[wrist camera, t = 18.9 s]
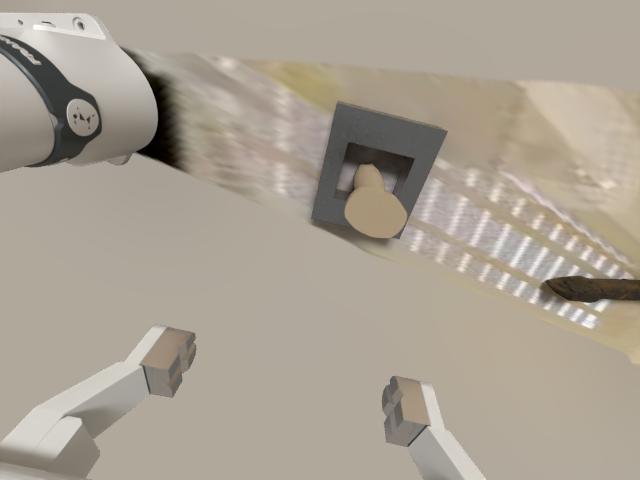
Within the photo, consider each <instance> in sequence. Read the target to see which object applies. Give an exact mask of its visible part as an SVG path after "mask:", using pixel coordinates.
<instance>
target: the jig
mask: <svg viewBox="0 0 640 480" xmlns="http://www.w3.org/2000/svg"><path fill="white" fill-rule="evenodd" d="M447 132H448V131H446V130H444V129H442V128H440V127H438V126H434V125H430V124H426V123H422V122H418V121H414V120H410V119H407V118H403V117H399V116H395V115H391V114H387V113H383V112H379V111H375V110H371V109H368V108H364V107H360V106H356V105H352V104H348V103H344V102H340V101H338V103H337V107H336V111H335V115H334V120H333V124H332V129H331V133H330V137H329V142H328V146H327V151H326V155H325V159H324V164H323V168H322V173H321V177H320V182H319V186H318V190H317V195H316V199H315V204H314V208H313V212H312V217H311V218H313V219H317V220H321V221H325V222H329V223H334V224H338V225H342V226H346V227H350V228H354V227H353V226H352V225H351V224H350V223H349V222H348V220H347V219H346V218H345V204H346V201H347V199H348V197H349V196H350V194H351V193H350V192H346V191H342V190H338V189H336V187H337V183H338V179H339V175H340V171H341V168H342V164H343V160H344V156H345V153H346V149H347V145H348V142H351V143H355V144H359V145H363V146H367V147H371V148H375V149H379V150H383V151H387V152H391V153H395V154H399V155H403V156H407V158H406V160H405V163H404V166H403V168H402V171H401V173H400V176H399V178H398V181H397V183H396V186H395V189H394V191H393V195H394V196H396V198H397V199H398V200H399V201H400V203H401V204H402V206H403V207H404V209H405V210H406V212H407V220H406V223H407V221H408V219H409V216H410V214H411V212H412V210H413V208H414V205H415V203H416V201H417V199H418V196H419V194H420V192H421V190H422V188H423V185H424V183H425V181H426V179H427V176H428V174H429V172H430V170H431V168H432V165H433V163H434V161H435V159H436V157H437V154H438V152H439V150H440V148H441V145H442V143H443V141H444V139H445V137H446V134H447ZM406 223H405V225H406ZM405 225H404V226H403V228H402V229H401V230H400V232H398V233H397V234H396V235H395V236H393V237H392V238H397V239H400V236H401V234H402V232H403V230H404V228H405Z"/></svg>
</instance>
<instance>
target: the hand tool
mask: <svg viewBox="0 0 640 480" xmlns="http://www.w3.org/2000/svg"><path fill="white" fill-rule="evenodd" d="M546 283H547V284H548V285H549V286H550V287H551V288H552V290H553V291H555V292H556V293H557V294H559V295H561V296H562V297H564V298H566V299H567V300H572V301H581V302H587V303H592V302H596V301H598V300H599V299H615V300H640V280H627V279H621V280H619V279H589V278H585V277H582V276H568V277H561V278H555V279H550V280H547V281H546Z"/></svg>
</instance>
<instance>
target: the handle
mask: <svg viewBox="0 0 640 480" xmlns="http://www.w3.org/2000/svg"><path fill="white" fill-rule="evenodd" d="M345 218H346V219H347V220H348V222H349V223H350V224H351V225H352V226H353V227H354V228H355V229H356V230H358V231H359V232H362V233H364V234H366V235H368V236H371V237H376V238H391V237H393V236H395V235H396V234H397V233H398V232H400V230H401V229H402V228H403V226H404V225H405V223H406V220H407V212H406V210H405V209H404V207H403V206H402V204H401V203H400V201H399V200H398V199H397V198H396V196H394V195H393V194H391V193H390V192H388V191H387V190H385V184H384V180H383V178H382V175H381V174H380V172H379V171H378V169H377V168H375V166H374V165H373V164H371V163H369V164H361V165H359V168H358V170H357V171H356V172H355V176H354V191H353V192H352V193H351V194H350V196H349V197H348V199H347V201H346V204H345Z"/></svg>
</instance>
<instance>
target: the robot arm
mask: <svg viewBox="0 0 640 480" xmlns="http://www.w3.org/2000/svg"><path fill="white" fill-rule="evenodd" d="M83 24H84V27H85V29H84V28H83ZM157 124H158V111H157V105H156V101H155V97H154V94H153V92H152V89H151V87H150V85H149V83H148V81H147V79H146V78H145V76H144V74H143V73H142V71H141V70H140V69H139V67H138V66H137V65H136V64H135V63H134V61H133V60H132V59H131V58H130V57H129V56H128V55H127V54H126V53H125V52H124V51H122V50H121V49H120V48H119V47H118V46H117V44H116V43H115V42H114V40H113V39H112V37H111V35H110V34H109V32H108V30H107V29H106V28H105V26H104V25H103V23H102V22H101V21H100V19H99V18H97V17H96V16H94V15H91V14H78V13H76V14H75V13H0V173H1V172H5V171H9V170H13V169H17V168H20V167H41V166H50V165H55V164H59V163H62V162H64V161H65V162H67V163H71V164H73V165H74V166H83V165H89V164H93V163H98V162H103V161H107V162H109V163H112V164H114V165H123V164H125V163H127V162H128V160H129V158H130V157H131V155H132V153H134V152H135V151H137V150H140V149H142V148H143V147H145V146H146V145H147V144H149V143H150V141H151V140H152V139H153V137H154V135H155V132H156V129H157ZM194 340H195V333H193V332H189V331H184V330H179V329H175V328H170V327H167V326H162V325H157V324H156V325H154V326H153V327H152V328H151V329H150V330H149V331H148V332H147V334H146V335H145V336H144V337H143V339H142V340H141V341H140V342H139V343H138V345H137V346H136V347H135V348H134V349H133V351H132V352H131V353H130V355H129V356H128V357H127V358H126V359H125V361H124V362H122V361H119V362H117V363H115V364H114V365H111V366H110V367H108V368H106V369H104V370H102V371H101V372H99V373H97V374H95V375H93V376H92V377H90V378H88V379H86V380H84V381H82V382H80V383H79V384H77V385H75V386H74V387H71V388H69V389H68V390H66V391H64V392H62V393H60V394H59V395H57V396H55V397H53V398H52V399H49V400H48V401H46V402H44V403H42V404H40V405H39V406H37V407H35V408H34V409H33V410H32V411H31V412H30V413H29V414H28V415H27V416H26V417H25V418H24V419H23V420H22V421H21V422H20V423H19V424H18V425H17V427H15V429H14V430H13V431H12V432H11V433H10V434H9V435H8V436H7V437H6V438H5V439H4V440H3V441H2V442H1V443H0V480H90V479H85V478H86V476H87V475H88V473H89V472H90V470H91V469H92V467H93V466H94V464H95V463H96V461H97V460H98V458H99V457H100V451H99V449H98V447H97V445H96V444H95V442H94V440H93V439H94V438H95V437H97V436H98V435H99V434H101V433H102V432H103V431H104V430H106V429H107V428H108V427H110V426H111V425H112V424H113V423H114V422H116V421H117V420H118V419H120V418H121V417H122V416H124V415H125V414H126V413H127V412H129V411H130V410H131V409H133V408H134V407H135V406H137V405H138V404H139V403H140V402H142V401H143V400H144V399H145V398H147V397H148V396H149V395H150V394H154V395H160V396H166V397H172V398H173V396H174V395H175V393H176V391H177V389H178V387H179V385H180V384H181V382H182V373H184V372H185V371H187V370H188V369H189V368H190V366H191V364H192V362H193V359H194V357H195V354H196V345H195V344H194ZM382 408H383V411H384V413H385V415H386V416H387V418H386V420H385V422H384V427H385V435H386V442H388V443H392V444H396V445H400V446H405V447H408V448H407V449H408V451H409V453H410V455H411V457H412V458H413V461H414V462H415V464H416V466H417V468H418V470H419V472H420V474H421V475H422V477H423V479H424V480H486V479H485V478H484V476H483V475H482V473H481V472H480V471H479V469H478V468H477V467H476V466H475V464H474V463H473V462H472V460H471V459H470V458H469V456H468V455H467V454H466V452H465V451H464V450H463V448H462V447H461V446H460V444H459V443H458V442H457V441H456V439H455V438H454V437H453V435H452V434H451V433H450V431H448V430H445V427H444V424H443V421H442V417H441V414H440V410H439V407H438V403H437V400H436V396H435V393H434V390H433V387H432V385H431V384H430V383H427V382H422V381H417V380H413V379H408V378H403V377H398V376H392V378H391V379H390V385H388V386H386V387H385V389H384V391H383V396H382Z"/></svg>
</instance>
